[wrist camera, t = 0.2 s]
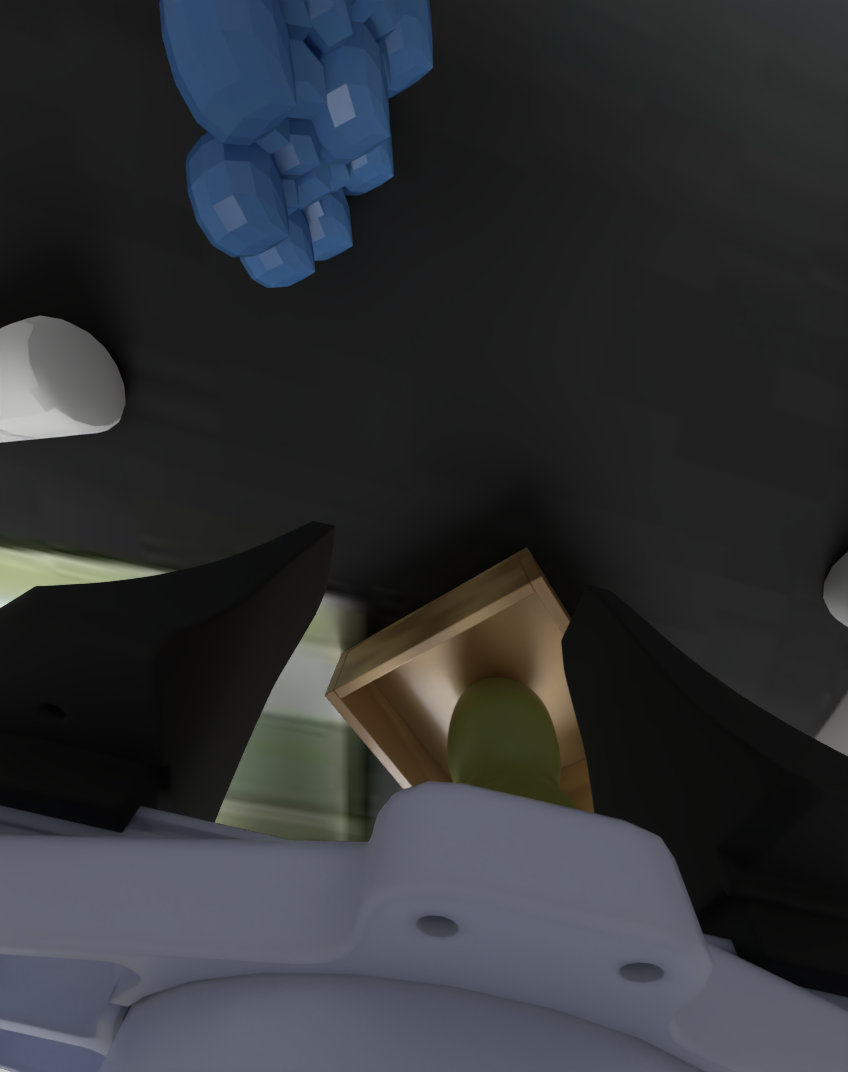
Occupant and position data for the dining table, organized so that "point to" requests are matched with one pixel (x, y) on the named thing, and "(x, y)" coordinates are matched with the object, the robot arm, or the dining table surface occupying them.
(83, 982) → the robot arm
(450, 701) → the wooden shallow box
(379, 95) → the blue knobbed flower
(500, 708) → the pear
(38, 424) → the unicorn horn
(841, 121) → the dining table surface
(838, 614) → the bottle
